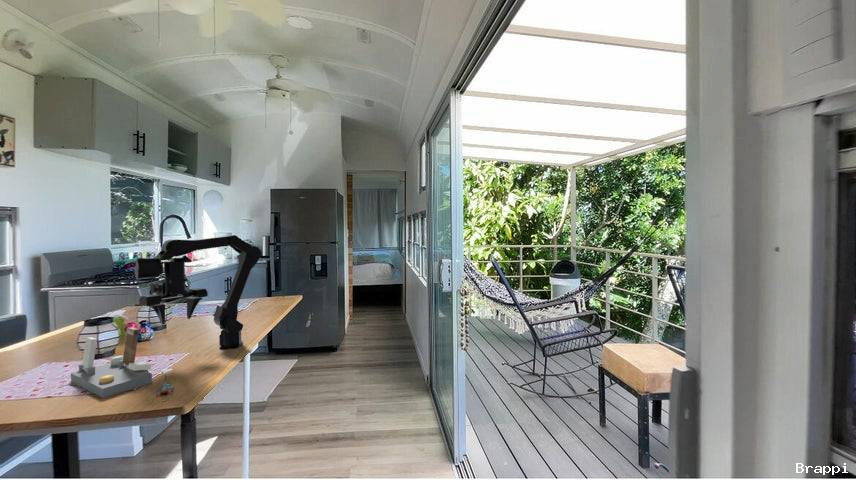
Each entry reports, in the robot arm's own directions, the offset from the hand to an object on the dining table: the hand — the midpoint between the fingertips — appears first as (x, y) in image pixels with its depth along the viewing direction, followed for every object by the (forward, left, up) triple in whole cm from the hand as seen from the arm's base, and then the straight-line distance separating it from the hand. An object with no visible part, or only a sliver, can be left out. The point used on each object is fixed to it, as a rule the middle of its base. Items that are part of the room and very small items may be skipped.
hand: (176, 321), depth 120 cm
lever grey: (+18, +14, -10) cm, 24 cm away
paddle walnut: (+7, +14, -10) cm, 18 cm away
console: (+10, +17, -13) cm, 23 cm away
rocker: (+2, +18, -10) cm, 21 cm away
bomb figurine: (-9, +28, -14) cm, 33 cm away
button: (+13, +9, -10) cm, 19 cm away
